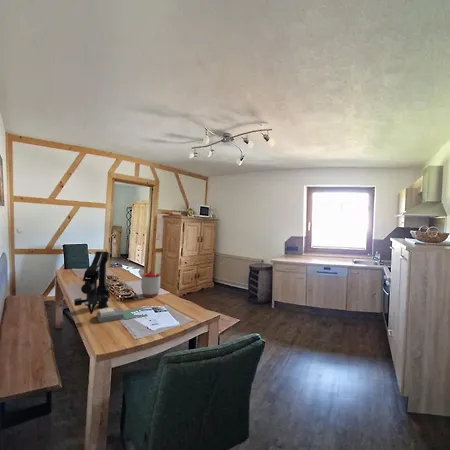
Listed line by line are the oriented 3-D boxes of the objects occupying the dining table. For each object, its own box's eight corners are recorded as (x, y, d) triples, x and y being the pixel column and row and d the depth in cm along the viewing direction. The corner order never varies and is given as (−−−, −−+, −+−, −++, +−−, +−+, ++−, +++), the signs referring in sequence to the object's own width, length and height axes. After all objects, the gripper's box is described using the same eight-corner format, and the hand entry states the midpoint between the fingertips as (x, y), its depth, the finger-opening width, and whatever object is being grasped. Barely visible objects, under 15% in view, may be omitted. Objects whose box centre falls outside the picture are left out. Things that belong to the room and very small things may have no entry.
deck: (96, 316, 178) (96, 311, 178) (119, 312, 185) (119, 308, 185) (99, 322, 168) (99, 317, 168) (123, 318, 175) (123, 314, 175)
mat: (120, 311, 188) (120, 310, 188) (141, 308, 195) (141, 307, 195) (125, 319, 174) (125, 318, 174) (147, 315, 182) (147, 315, 182)
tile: (99, 312, 176) (99, 309, 176) (112, 310, 181) (112, 307, 181) (100, 316, 170) (100, 312, 170) (114, 314, 175) (114, 311, 175)
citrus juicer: (163, 292, 236) (164, 269, 235) (156, 298, 219) (157, 273, 218) (145, 291, 238) (146, 268, 237) (137, 297, 220) (138, 272, 220)
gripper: (75, 294, 158) (75, 321, 159) (110, 290, 168) (109, 315, 169) (74, 289, 168) (73, 314, 168) (107, 286, 178) (106, 310, 178)
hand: (91, 313), depth 171 cm, fingers closed
